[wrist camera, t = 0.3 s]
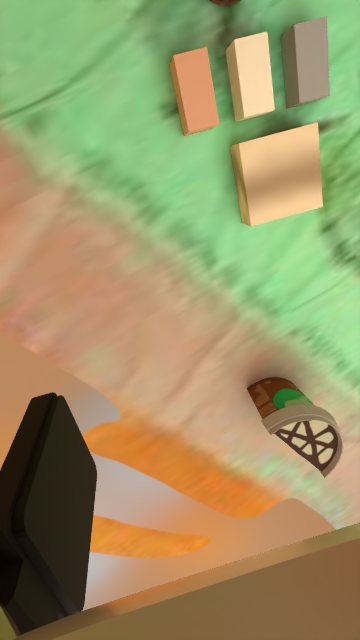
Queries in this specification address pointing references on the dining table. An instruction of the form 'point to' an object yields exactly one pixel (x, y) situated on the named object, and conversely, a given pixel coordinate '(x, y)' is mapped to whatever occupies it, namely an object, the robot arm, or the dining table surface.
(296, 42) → the brick slate
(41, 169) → the dining table surface
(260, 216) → the oak slab
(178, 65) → the brick terracotta
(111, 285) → the dining table surface
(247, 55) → the brick cream
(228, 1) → the supplement bottle
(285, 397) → the food container
